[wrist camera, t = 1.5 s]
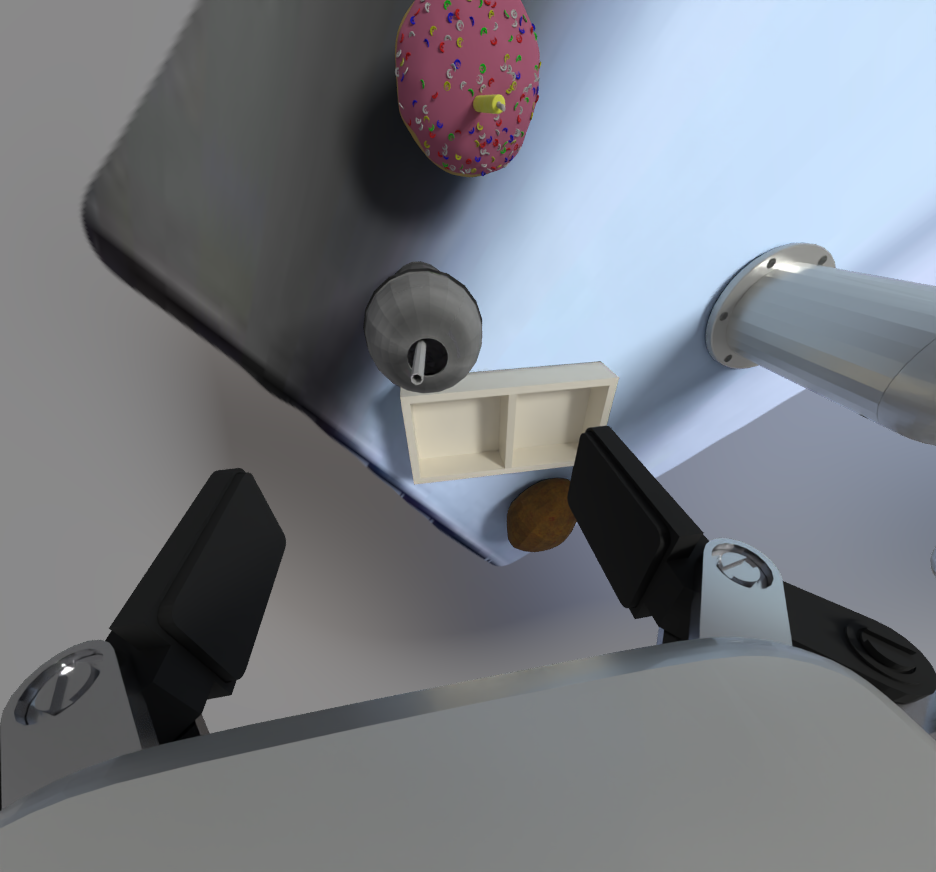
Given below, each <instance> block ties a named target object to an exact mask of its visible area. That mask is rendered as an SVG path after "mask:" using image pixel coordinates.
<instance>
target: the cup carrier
mask: <svg viewBox="0 0 936 872" xmlns="http://www.w3.org/2000/svg"><path fill="white" fill-rule="evenodd" d="M618 380H619V377H618V376H617V375H616V374H615V373H613V372H612V371H611V370H610V369H609V368H608V367H607V366H605V365H604V364H603V363H602V362H601V361H599V362H588V363H576V364H564V365H552V366H540V367H529V368H517V369H505V370H493V371H481V372H470V373H468V374H467V376H466V377H465V378H464V379H462V380H461V381H460V382H458V383H457V384H456V385H455V386H453V387H451V388H448V389H445V390H443V391H440V392H434V393H418V392H412V391H407V390H405V389H403V388H400V399H401V406H402V412H403V418H404V424H405V430H406V437H407V443H408V449H409V455H410V461H411V468H412V474H413V480H414V484H423V483H431V482H440V481H448V480H457V479H465V478H474V477H483V476H491V475H500V474H508V473H517V472H525V471H534V470H542V469H551V468H560V467H568V466H574V462H575V458H576V453H577V448H578V443H579V439H580V435H581V434H582V433H585V431H586V429H587V428H589V427H598V426H607V422H608V418H609V414H610V410H611V407H612V403H613V399H614V395H615V391H616V387H617V384H618Z"/></svg>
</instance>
